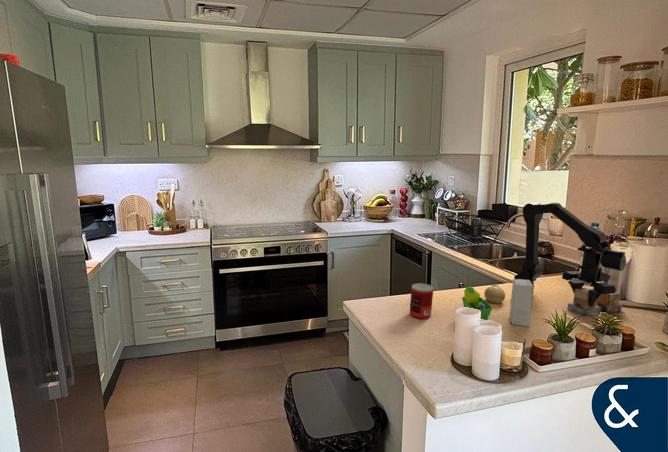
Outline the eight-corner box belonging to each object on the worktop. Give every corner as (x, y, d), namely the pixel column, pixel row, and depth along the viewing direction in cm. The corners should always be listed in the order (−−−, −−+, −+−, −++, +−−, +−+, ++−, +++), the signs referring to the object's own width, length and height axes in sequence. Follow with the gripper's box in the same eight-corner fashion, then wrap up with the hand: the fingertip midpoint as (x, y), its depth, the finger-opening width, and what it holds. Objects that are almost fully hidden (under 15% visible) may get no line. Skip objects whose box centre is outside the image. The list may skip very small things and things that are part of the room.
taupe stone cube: (606, 312, 156) (609, 294, 154) (594, 306, 161) (596, 290, 160) (617, 311, 157) (620, 293, 156) (605, 305, 162) (607, 289, 161)
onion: (508, 303, 165) (510, 286, 163) (496, 306, 160) (498, 289, 159) (491, 296, 171) (492, 280, 170) (479, 300, 167) (481, 283, 165)
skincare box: (529, 327, 142) (534, 286, 139) (510, 324, 144) (515, 284, 141) (525, 318, 150) (530, 279, 147) (508, 315, 152) (512, 277, 149)
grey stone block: (584, 311, 153) (587, 293, 151) (572, 305, 158) (575, 288, 156) (596, 310, 154) (599, 292, 153) (584, 304, 159) (586, 287, 158)
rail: (583, 319, 151) (585, 310, 150) (563, 309, 159) (565, 301, 158) (624, 315, 156) (626, 306, 156) (603, 306, 165) (604, 298, 164)
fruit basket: (492, 322, 145) (496, 291, 143) (468, 321, 145) (471, 291, 143) (479, 309, 157) (482, 281, 154) (456, 309, 156) (459, 281, 154)
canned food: (431, 313, 151) (434, 284, 149) (429, 321, 144) (432, 291, 142) (411, 309, 154) (413, 281, 152) (407, 317, 146) (410, 288, 144)
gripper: (630, 270, 146) (623, 311, 149) (586, 256, 164) (580, 293, 166) (606, 272, 143) (599, 313, 146) (563, 257, 160) (558, 295, 163)
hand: (584, 303), depth 155 cm, fingers closed on grey stone block, 5 cm apart
